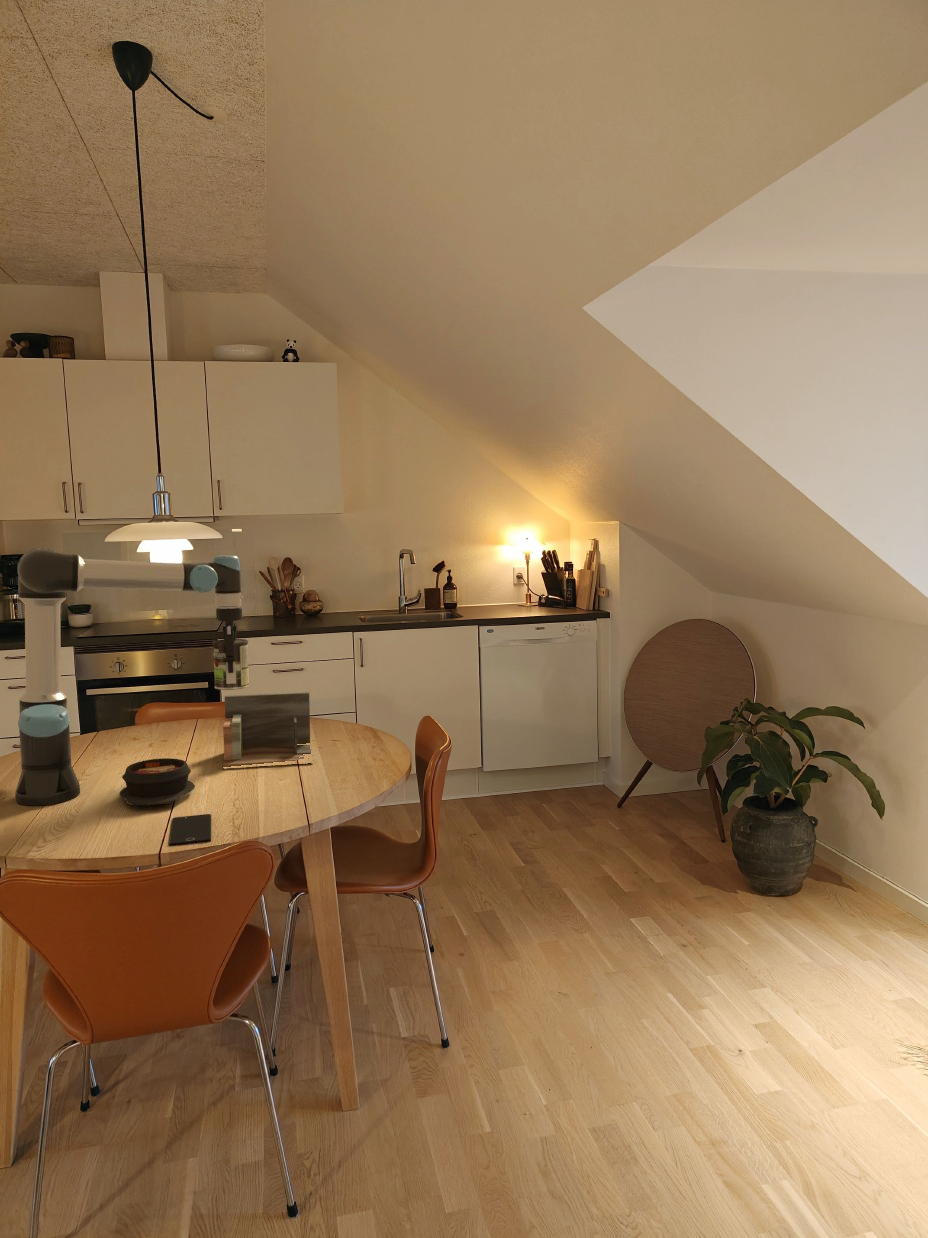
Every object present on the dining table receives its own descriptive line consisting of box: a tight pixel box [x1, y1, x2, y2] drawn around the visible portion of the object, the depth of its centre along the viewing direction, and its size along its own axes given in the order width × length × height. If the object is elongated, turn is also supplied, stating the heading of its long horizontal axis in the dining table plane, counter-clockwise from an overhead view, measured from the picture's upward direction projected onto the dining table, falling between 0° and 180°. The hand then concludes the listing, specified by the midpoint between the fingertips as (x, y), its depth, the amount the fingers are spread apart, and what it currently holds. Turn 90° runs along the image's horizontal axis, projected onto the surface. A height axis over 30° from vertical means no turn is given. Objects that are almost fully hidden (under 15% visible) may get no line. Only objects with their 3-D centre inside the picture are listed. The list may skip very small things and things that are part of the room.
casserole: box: [119, 757, 196, 806], centre depth 216 cm, size 25×19×8 cm
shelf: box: [222, 691, 312, 768], centre depth 253 cm, size 20×26×18 cm
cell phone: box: [168, 813, 212, 847], centre depth 192 cm, size 9×18×1 cm, turn 17°
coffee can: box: [212, 638, 250, 691], centre depth 249 cm, size 10×10×14 cm
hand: (232, 680), depth 250 cm, fingers closed on coffee can, 10 cm apart
